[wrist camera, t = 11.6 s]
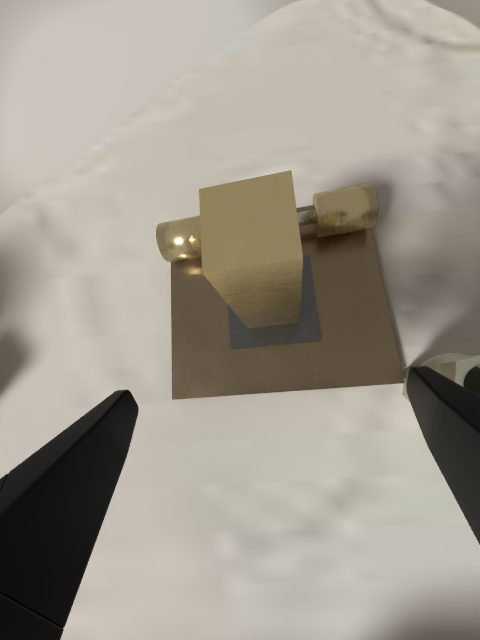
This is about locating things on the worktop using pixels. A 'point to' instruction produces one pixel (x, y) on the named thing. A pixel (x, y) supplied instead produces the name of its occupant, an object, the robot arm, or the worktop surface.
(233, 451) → the worktop surface
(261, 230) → the brass post
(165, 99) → the worktop surface
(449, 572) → the worktop surface
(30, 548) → the robot arm
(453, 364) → the valve
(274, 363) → the hinge leaf
